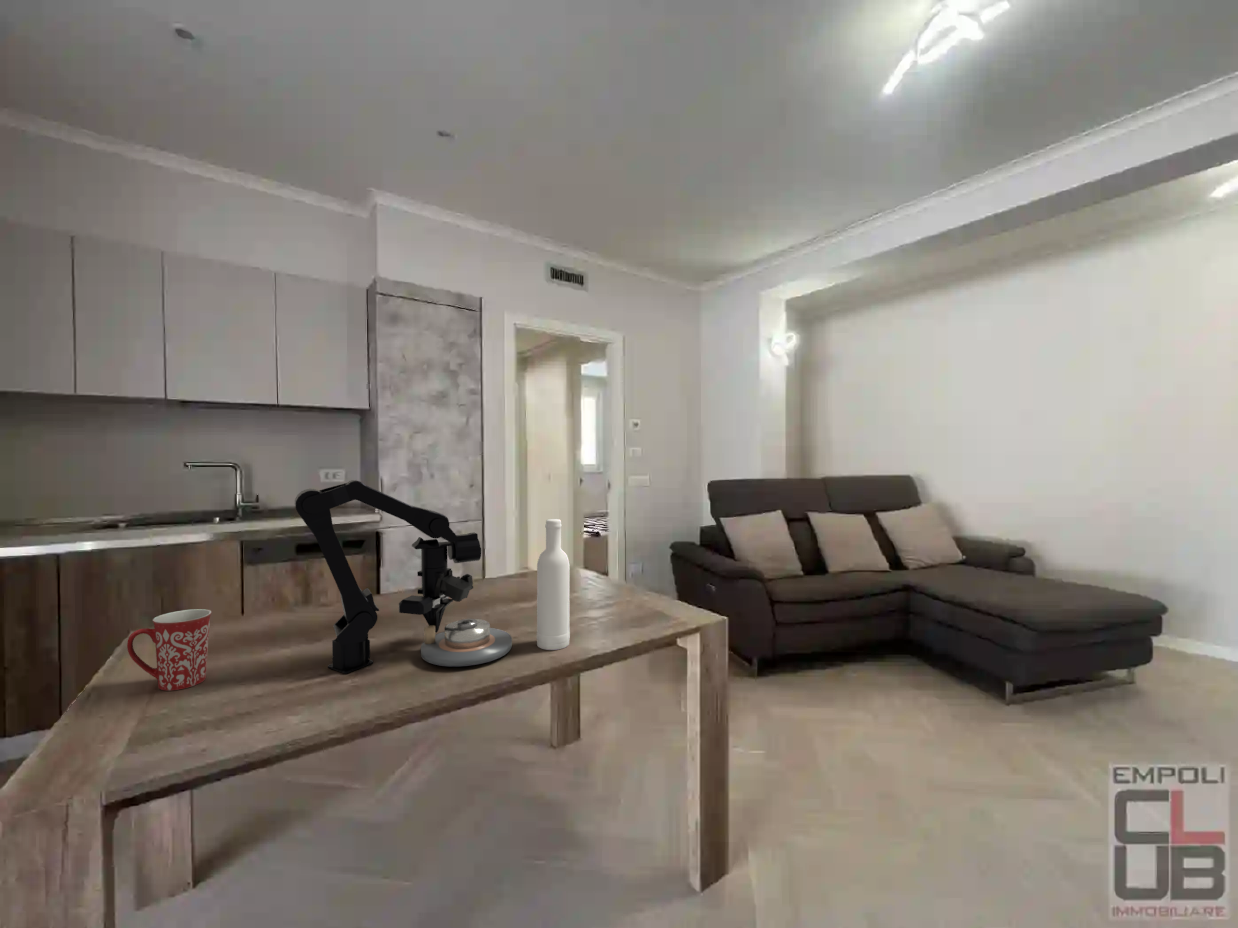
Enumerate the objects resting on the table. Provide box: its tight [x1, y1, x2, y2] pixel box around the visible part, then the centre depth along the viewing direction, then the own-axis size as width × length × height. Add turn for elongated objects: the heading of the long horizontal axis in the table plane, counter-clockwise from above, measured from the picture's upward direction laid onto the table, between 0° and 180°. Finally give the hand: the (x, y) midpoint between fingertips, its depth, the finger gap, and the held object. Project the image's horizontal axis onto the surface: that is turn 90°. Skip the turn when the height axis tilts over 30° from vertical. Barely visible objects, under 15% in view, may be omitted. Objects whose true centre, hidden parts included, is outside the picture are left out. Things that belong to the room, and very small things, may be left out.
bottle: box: [536, 518, 571, 651], centre depth 125 cm, size 8×8×30 cm
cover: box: [444, 618, 491, 649], centre depth 120 cm, size 10×10×5 cm
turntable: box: [420, 624, 513, 667], centre depth 120 cm, size 20×20×5 cm
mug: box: [126, 608, 212, 692], centre depth 103 cm, size 13×9×14 cm
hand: (435, 631), depth 122 cm, fingers closed
